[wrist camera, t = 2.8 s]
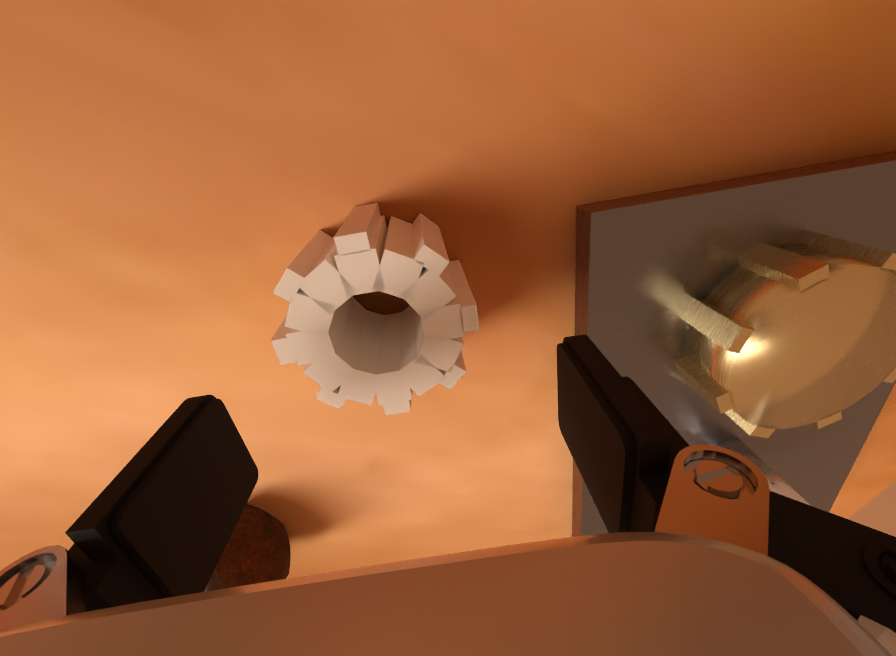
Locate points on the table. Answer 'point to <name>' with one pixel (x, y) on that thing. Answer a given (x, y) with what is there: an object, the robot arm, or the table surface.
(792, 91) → the table surface
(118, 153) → the table surface
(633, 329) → the carrier plate
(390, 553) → the table surface
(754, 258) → the sun gear
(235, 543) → the bolt
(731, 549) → the robot arm
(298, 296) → the planet gear
